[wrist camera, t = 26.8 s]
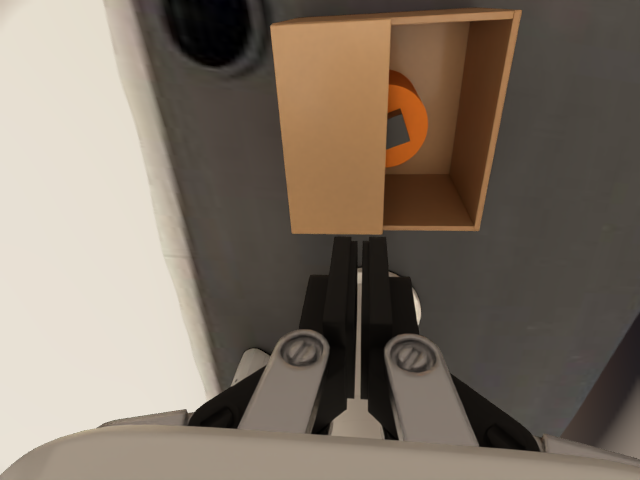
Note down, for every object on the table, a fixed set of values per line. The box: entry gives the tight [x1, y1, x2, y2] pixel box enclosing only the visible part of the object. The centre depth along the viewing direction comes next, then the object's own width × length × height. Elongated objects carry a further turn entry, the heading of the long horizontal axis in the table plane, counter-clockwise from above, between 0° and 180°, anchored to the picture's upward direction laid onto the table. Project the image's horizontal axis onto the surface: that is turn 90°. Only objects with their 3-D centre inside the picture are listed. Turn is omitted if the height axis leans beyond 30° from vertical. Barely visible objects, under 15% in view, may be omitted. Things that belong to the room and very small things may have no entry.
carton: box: [272, 8, 522, 231], centre depth 29 cm, size 14×14×10 cm
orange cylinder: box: [385, 70, 428, 168], centre depth 30 cm, size 6×6×9 cm
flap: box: [270, 19, 391, 234], centre depth 25 cm, size 14×7×1 cm, turn 3°
